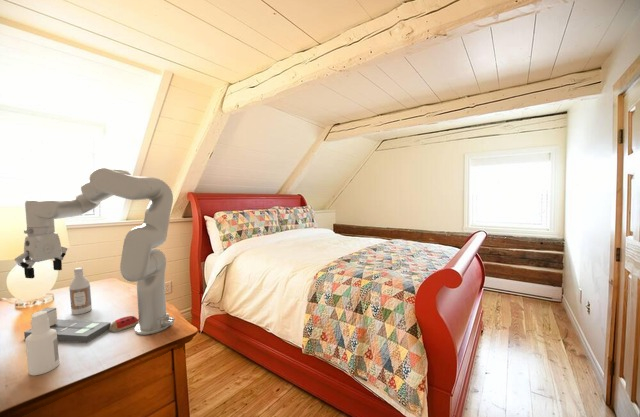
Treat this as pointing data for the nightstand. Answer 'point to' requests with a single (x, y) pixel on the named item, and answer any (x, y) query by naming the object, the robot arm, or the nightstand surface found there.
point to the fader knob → (51, 315)
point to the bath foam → (80, 293)
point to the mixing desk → (77, 330)
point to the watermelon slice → (123, 323)
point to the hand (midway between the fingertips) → (44, 273)
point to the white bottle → (41, 345)
